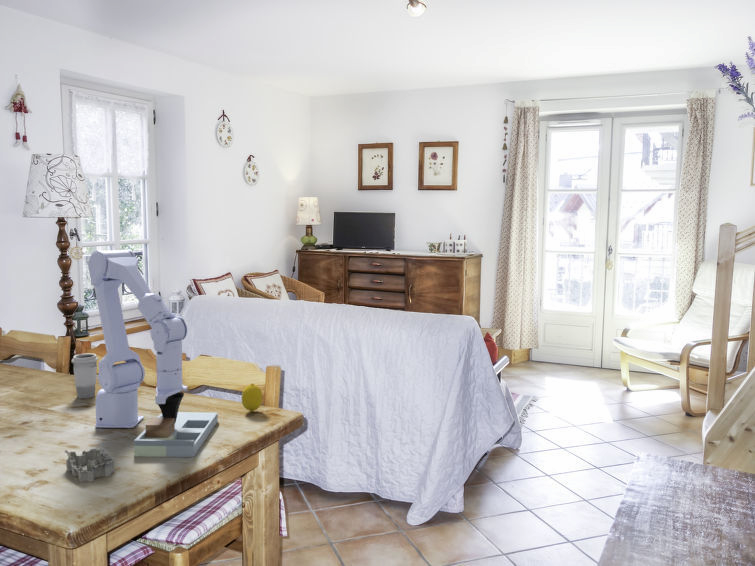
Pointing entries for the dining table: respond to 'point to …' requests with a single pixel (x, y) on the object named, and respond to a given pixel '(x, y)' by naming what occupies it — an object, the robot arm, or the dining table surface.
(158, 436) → the walnut block
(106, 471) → the grey toy castle
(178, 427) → the trap tray
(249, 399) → the lemon
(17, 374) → the dining table surface
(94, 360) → the cup
